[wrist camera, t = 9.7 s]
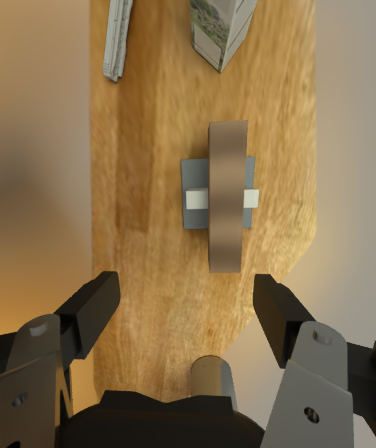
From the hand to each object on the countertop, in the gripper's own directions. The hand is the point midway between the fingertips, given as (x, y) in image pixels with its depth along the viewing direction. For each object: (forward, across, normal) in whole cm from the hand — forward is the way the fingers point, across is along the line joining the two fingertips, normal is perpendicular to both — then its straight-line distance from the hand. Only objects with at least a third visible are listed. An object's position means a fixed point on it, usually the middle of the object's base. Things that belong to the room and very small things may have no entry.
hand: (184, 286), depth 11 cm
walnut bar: (+16, -4, -3) cm, 17 cm away
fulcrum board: (+23, -4, -3) cm, 24 cm away
